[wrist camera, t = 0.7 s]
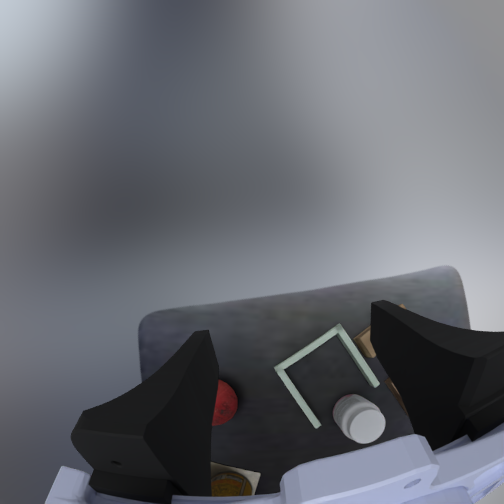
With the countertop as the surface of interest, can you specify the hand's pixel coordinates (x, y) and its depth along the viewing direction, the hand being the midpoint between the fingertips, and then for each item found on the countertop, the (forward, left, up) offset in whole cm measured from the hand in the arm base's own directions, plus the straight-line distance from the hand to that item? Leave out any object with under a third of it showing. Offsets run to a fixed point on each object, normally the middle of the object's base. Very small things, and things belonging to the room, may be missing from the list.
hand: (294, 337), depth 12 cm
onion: (-2, +11, -25) cm, 28 cm away
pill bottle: (-13, -2, -25) cm, 28 cm away
